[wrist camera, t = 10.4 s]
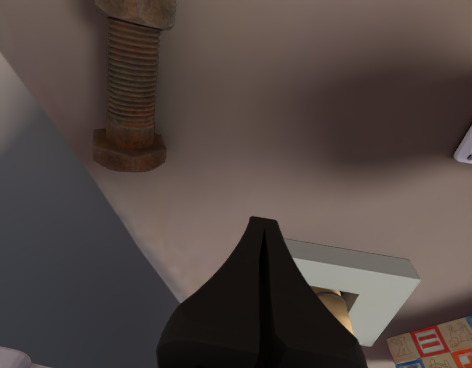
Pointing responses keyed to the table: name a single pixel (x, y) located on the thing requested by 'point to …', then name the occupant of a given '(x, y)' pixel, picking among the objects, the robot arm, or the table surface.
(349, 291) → the board
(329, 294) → the peg
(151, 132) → the bolt
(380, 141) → the table surface
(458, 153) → the robot arm
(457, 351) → the stack of blocks
